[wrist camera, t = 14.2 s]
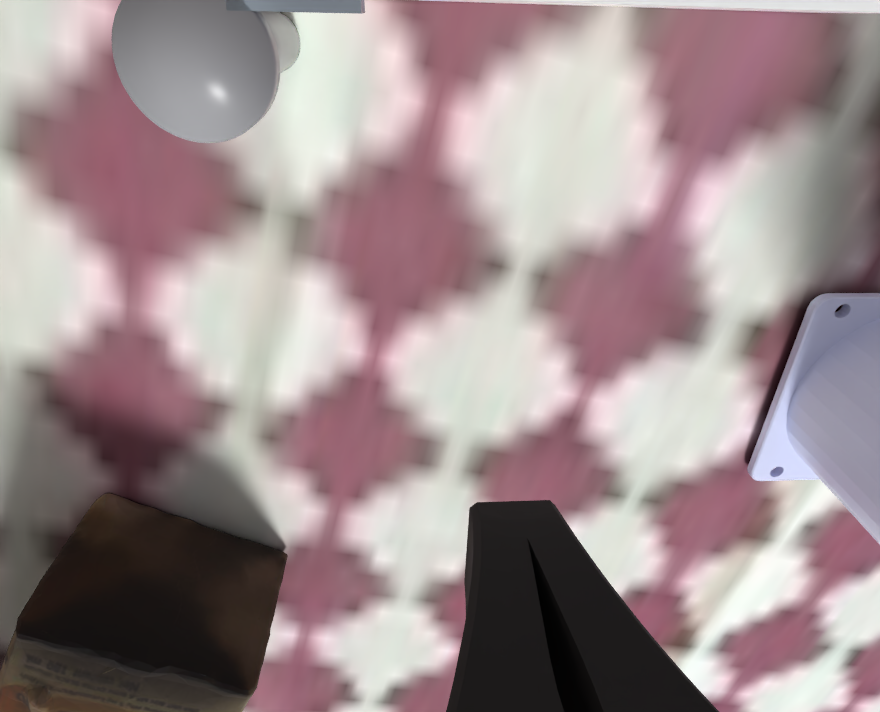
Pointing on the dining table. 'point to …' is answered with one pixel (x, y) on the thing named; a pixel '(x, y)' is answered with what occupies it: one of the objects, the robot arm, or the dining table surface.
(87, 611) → the brown box-shaped piece
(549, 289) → the dining table surface
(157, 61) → the cover
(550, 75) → the dining table surface
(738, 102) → the dining table surface
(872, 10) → the duct
